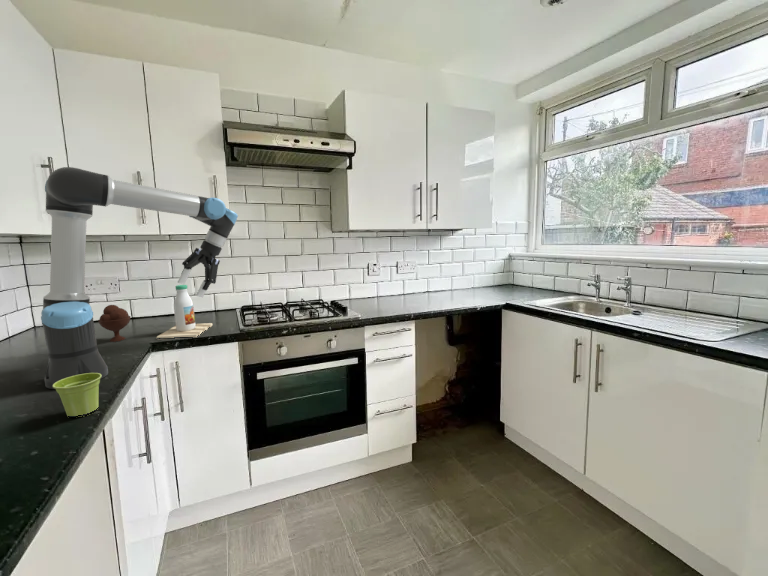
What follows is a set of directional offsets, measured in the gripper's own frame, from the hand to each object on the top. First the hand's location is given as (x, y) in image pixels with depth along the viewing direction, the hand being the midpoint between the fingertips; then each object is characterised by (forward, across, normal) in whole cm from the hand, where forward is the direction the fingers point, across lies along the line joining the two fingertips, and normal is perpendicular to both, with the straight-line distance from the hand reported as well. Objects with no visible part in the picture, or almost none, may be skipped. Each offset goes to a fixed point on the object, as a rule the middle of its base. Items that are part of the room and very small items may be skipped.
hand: (189, 289), depth 154 cm
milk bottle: (+20, +7, -13) cm, 25 cm away
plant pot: (+26, -43, +45) cm, 67 cm away
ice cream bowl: (+34, +20, +4) cm, 40 cm away
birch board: (+21, +6, -13) cm, 26 cm away
